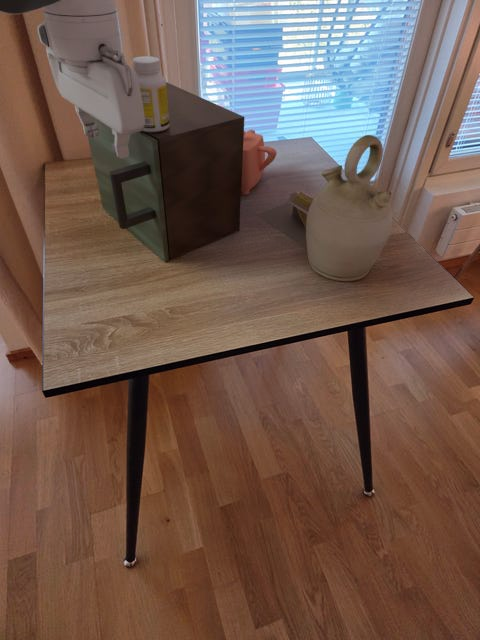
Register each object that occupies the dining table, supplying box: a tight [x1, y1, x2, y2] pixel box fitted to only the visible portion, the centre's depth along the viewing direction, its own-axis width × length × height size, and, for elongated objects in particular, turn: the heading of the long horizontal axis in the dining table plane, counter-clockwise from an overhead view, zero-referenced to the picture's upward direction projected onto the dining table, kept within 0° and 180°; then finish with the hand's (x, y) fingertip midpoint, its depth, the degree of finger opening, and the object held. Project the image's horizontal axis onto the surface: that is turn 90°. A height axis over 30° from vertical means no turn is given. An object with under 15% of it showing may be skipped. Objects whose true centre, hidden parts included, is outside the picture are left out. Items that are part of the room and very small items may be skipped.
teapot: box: [241, 129, 277, 196], centre depth 102 cm, size 17×16×13 cm
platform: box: [256, 190, 315, 251], centre depth 92 cm, size 12×18×7 cm, turn 37°
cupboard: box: [142, 81, 245, 261], centre depth 85 cm, size 18×26×24 cm
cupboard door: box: [87, 117, 170, 263], centre depth 79 cm, size 8×26×23 cm, turn 40°
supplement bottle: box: [132, 55, 169, 132], centre depth 66 cm, size 5×5×10 cm
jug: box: [306, 134, 393, 282], centre depth 75 cm, size 15×16×25 cm
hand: (106, 145), depth 63 cm, fingers open, 8 cm apart
